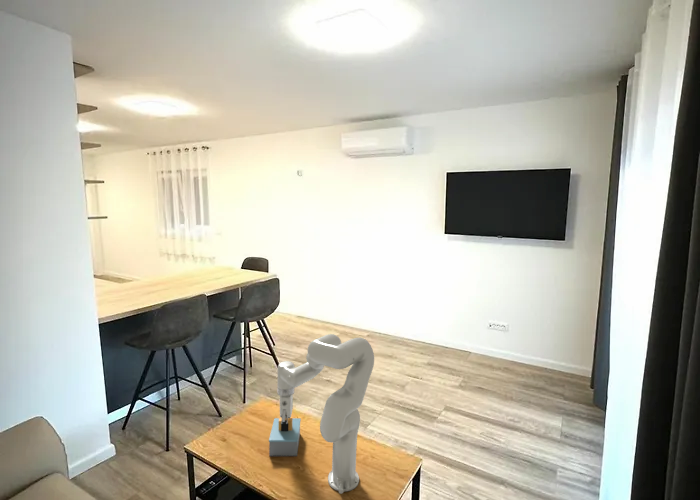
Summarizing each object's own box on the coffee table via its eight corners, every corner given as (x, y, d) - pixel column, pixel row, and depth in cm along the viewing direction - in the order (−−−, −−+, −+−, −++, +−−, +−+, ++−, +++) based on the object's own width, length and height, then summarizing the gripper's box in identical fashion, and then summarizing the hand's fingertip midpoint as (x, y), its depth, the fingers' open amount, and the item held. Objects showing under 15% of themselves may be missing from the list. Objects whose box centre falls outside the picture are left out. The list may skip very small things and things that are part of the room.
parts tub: (296, 456, 166) (297, 441, 165) (269, 456, 166) (269, 441, 165) (299, 433, 182) (300, 420, 181) (274, 433, 181) (274, 420, 180)
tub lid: (297, 444, 165) (297, 430, 164) (268, 444, 165) (268, 430, 164) (300, 422, 181) (300, 409, 180) (274, 422, 181) (274, 409, 180)
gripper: (292, 399, 162) (291, 438, 164) (296, 380, 179) (295, 415, 181) (274, 399, 161) (274, 438, 164) (280, 380, 178) (279, 415, 181)
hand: (285, 426), depth 172 cm, fingers open, 5 cm apart
